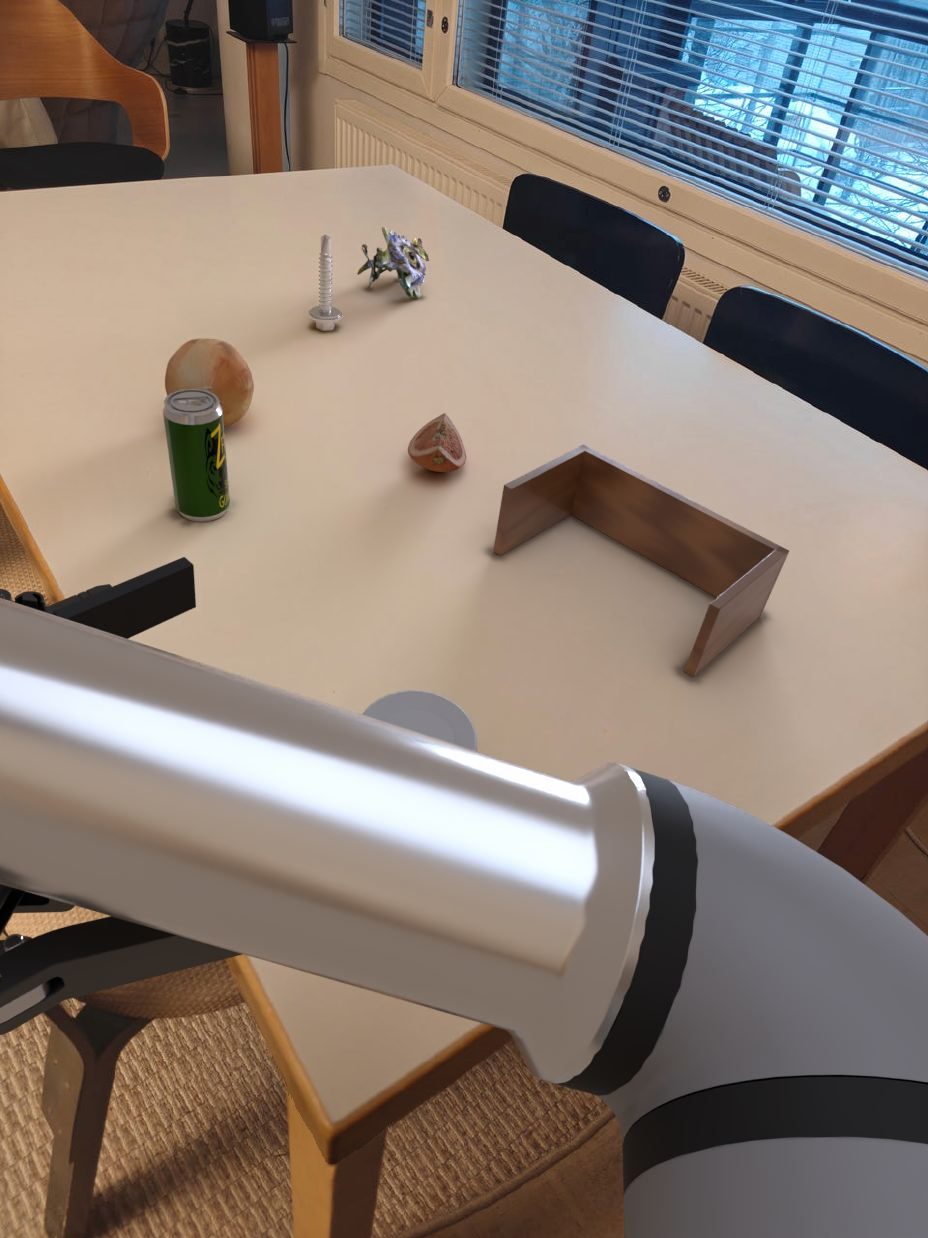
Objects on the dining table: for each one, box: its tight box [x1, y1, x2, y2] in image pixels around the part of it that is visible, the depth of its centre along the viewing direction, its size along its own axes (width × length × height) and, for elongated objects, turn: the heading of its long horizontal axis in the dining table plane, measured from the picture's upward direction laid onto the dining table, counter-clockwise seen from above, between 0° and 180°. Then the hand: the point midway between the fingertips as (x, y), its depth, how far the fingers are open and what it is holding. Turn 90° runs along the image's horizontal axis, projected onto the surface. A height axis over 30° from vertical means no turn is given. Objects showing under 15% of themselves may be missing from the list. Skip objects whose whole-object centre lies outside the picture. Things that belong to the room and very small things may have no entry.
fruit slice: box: [407, 412, 467, 473], centre depth 97 cm, size 8×7×5 cm
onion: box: [164, 337, 255, 427], centre depth 98 cm, size 10×10×10 cm
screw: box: [307, 234, 343, 332], centre depth 121 cm, size 13×5×5 cm
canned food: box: [361, 689, 478, 752], centre depth 56 cm, size 8×8×11 cm
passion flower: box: [356, 226, 430, 299], centre depth 136 cm, size 11×11×12 cm
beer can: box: [162, 389, 231, 523], centre depth 84 cm, size 5×5×12 cm
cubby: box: [492, 444, 790, 678], centre depth 84 cm, size 24×13×8 cm, turn 47°
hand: (281, 660), depth 39 cm, fingers open, 13 cm apart
